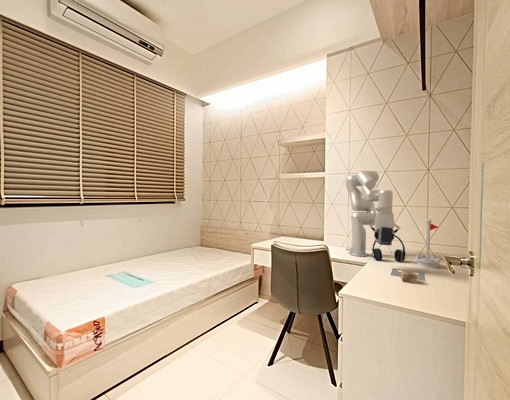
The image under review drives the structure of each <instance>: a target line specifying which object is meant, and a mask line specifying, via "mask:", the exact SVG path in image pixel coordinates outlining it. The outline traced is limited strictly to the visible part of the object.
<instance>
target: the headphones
mask: <svg viewBox="0 0 510 400" xmlns="http://www.w3.org/2000/svg"><path fill="white" fill-rule="evenodd" d="M394 238H396V239H397V240H399V242H400V243H401V245H402V249H399V248H397V249H395V251H394V261H396V262H403V261H405V259H406V248H405V245H404V244H405V243H404V241H402V239H401V238H400V237H399V236H397V235H396V234H394ZM376 243H377V242H376V239H375V240H374V242H373V244H372V247H371V249H372V251H371V253H372V254H371V255H372V258H373V259H374V260H375V261H383V253H382V250H381V249H380V248H378V247H377V248H375V246H376Z"/></svg>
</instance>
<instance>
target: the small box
mask: <svg viewBox="0 0 510 400" xmlns="http://www.w3.org/2000/svg"><path fill="white" fill-rule="evenodd" d="M377 232H378V235H377V239H375V240H376V243H377V244H379V245H381V246H392V242H393V240H392V228H389V227H380V229H378V230H377Z"/></svg>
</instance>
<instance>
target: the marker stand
mask: <svg viewBox="0 0 510 400" xmlns="http://www.w3.org/2000/svg"><path fill="white" fill-rule="evenodd" d="M425 221H426V252H425V253H426V254H421V255H420V254H415V258H414V259H415V260H416V265H417V266H419V267H424V268H427V269H436V268H437V267H438V268H439V265H440V264H441V258H440V257H439V256H436V258H435V256H434V255H430V242H431V241H430V240H431V239H430V238H431V231H432V230H434V229H438V228H439V226H438V225H435V224H433V223H432V218H426V219H425Z"/></svg>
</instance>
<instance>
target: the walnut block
mask: <svg viewBox="0 0 510 400" xmlns="http://www.w3.org/2000/svg"><path fill="white" fill-rule="evenodd" d="M402 270H403V269H402ZM402 270H401V277H400V279H401V281H402V283H407V284H415V285H417V282H418V280H417V275H416V273H415V272H416V271H415V272H411V271H412V270H409V271H402Z"/></svg>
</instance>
